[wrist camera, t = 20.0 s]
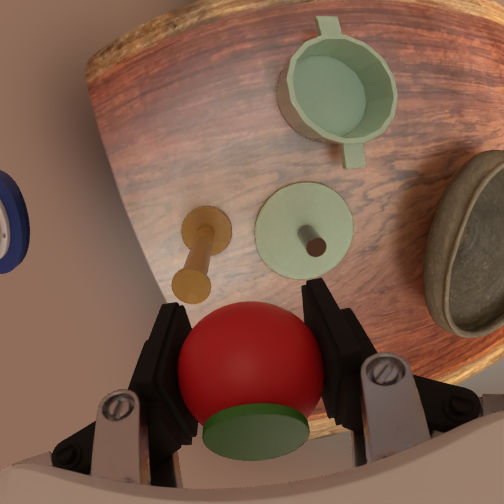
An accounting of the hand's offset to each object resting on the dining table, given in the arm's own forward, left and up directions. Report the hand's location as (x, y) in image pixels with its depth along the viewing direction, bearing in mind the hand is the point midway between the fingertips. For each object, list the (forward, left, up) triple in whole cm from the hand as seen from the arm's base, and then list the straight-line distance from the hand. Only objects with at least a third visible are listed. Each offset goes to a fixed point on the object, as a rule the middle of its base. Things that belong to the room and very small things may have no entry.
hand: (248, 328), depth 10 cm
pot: (+6, +16, -27) cm, 31 cm away
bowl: (+35, +8, -27) cm, 45 cm away
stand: (-2, -6, -27) cm, 27 cm away
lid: (+10, -2, -26) cm, 28 cm away
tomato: (0, 0, 0) cm, 0 cm away
